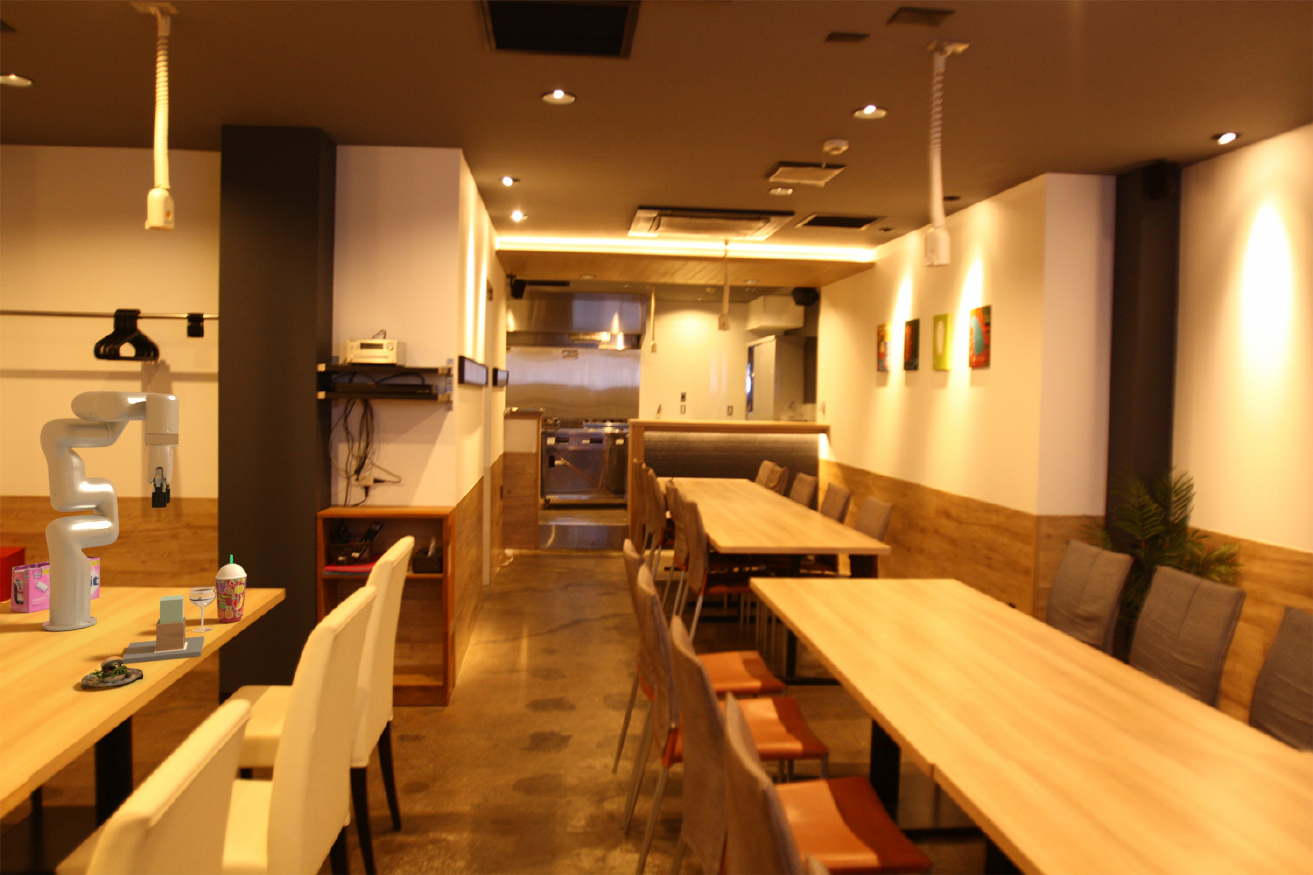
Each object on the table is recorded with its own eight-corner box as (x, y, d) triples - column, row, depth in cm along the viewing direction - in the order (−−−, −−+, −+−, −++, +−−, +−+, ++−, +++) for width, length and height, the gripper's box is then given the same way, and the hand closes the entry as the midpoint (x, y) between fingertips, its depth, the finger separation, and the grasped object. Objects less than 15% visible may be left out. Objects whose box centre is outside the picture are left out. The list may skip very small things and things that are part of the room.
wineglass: (219, 630, 225) (219, 588, 224) (192, 634, 220) (193, 592, 219) (211, 625, 229) (211, 584, 229) (185, 629, 224) (185, 588, 224)
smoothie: (208, 622, 232) (209, 555, 232) (232, 615, 240) (233, 551, 240) (228, 625, 229) (229, 558, 229) (252, 619, 237) (253, 554, 237)
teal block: (161, 619, 204) (161, 596, 204) (183, 617, 207) (183, 595, 207) (159, 623, 200) (160, 600, 200) (182, 621, 202) (182, 599, 202)
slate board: (130, 647, 206) (130, 642, 206) (203, 640, 214) (203, 635, 214) (121, 664, 193) (121, 658, 193) (200, 656, 201) (200, 651, 201)
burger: (74, 694, 173) (74, 661, 173) (88, 677, 184) (88, 646, 183) (137, 688, 178) (138, 656, 177) (148, 672, 189) (148, 641, 188)
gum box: (24, 614, 235) (24, 570, 234) (5, 612, 237) (5, 568, 236) (100, 597, 258) (101, 557, 257) (82, 595, 260) (82, 555, 259)
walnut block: (158, 645, 205) (158, 618, 205) (185, 642, 208) (185, 616, 207) (156, 651, 199) (156, 624, 199) (183, 649, 202) (183, 622, 202)
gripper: (148, 439, 210) (148, 502, 210) (140, 441, 194) (139, 509, 195) (181, 439, 213) (180, 501, 214) (175, 442, 198) (174, 509, 198)
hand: (161, 505), depth 204 cm, fingers open, 9 cm apart
